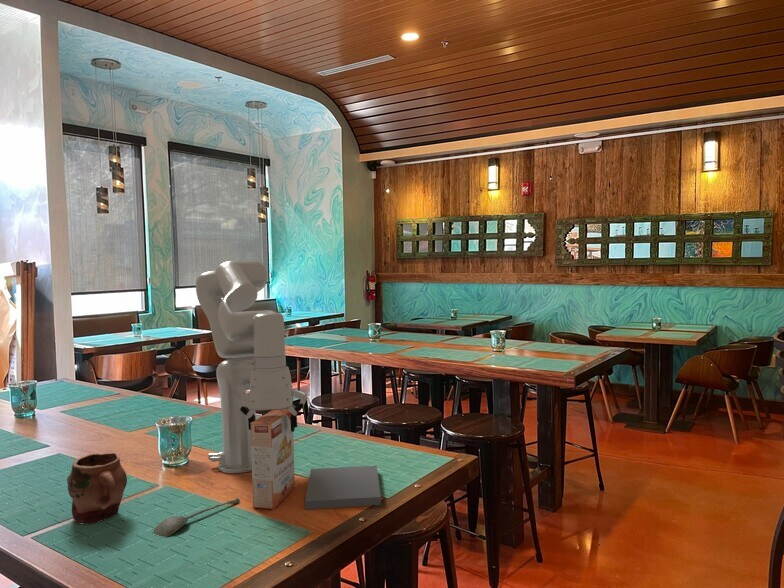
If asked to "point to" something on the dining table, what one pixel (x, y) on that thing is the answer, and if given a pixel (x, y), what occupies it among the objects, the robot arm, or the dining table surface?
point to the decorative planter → (96, 487)
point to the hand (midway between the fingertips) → (273, 431)
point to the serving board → (343, 487)
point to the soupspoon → (182, 520)
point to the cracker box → (272, 458)
